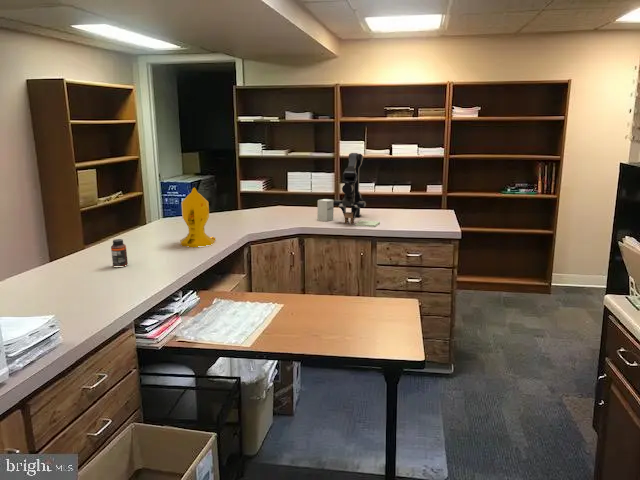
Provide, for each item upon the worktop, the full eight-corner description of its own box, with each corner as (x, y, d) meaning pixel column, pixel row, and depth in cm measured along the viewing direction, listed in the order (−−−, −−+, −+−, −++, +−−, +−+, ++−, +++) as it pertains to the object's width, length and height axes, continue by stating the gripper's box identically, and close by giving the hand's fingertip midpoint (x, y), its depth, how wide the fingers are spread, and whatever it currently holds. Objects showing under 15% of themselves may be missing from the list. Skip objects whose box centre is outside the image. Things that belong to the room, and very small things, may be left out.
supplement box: (326, 221, 316) (326, 201, 313) (317, 220, 320) (317, 200, 317) (333, 219, 321) (333, 199, 319) (324, 218, 326) (324, 198, 323)
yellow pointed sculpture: (204, 237, 274) (202, 184, 268) (224, 245, 255) (222, 188, 248) (172, 241, 264) (168, 186, 258) (190, 250, 245) (187, 191, 239)
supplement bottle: (123, 263, 223) (120, 237, 221) (130, 265, 220) (128, 239, 217) (110, 266, 219) (107, 240, 216) (117, 268, 215) (115, 242, 213)
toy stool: (346, 222, 313) (346, 212, 311) (354, 222, 311) (354, 212, 310) (344, 223, 308) (344, 213, 307) (352, 224, 307) (352, 214, 305)
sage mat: (360, 221, 315) (360, 220, 314) (379, 223, 311) (379, 221, 311) (355, 225, 304) (355, 223, 303) (375, 226, 300) (375, 225, 300)
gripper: (330, 193, 301) (330, 219, 305) (361, 194, 295) (361, 221, 299) (336, 190, 311) (335, 216, 315) (366, 191, 305) (365, 218, 309)
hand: (349, 218), depth 309 cm, fingers closed on toy stool, 5 cm apart
